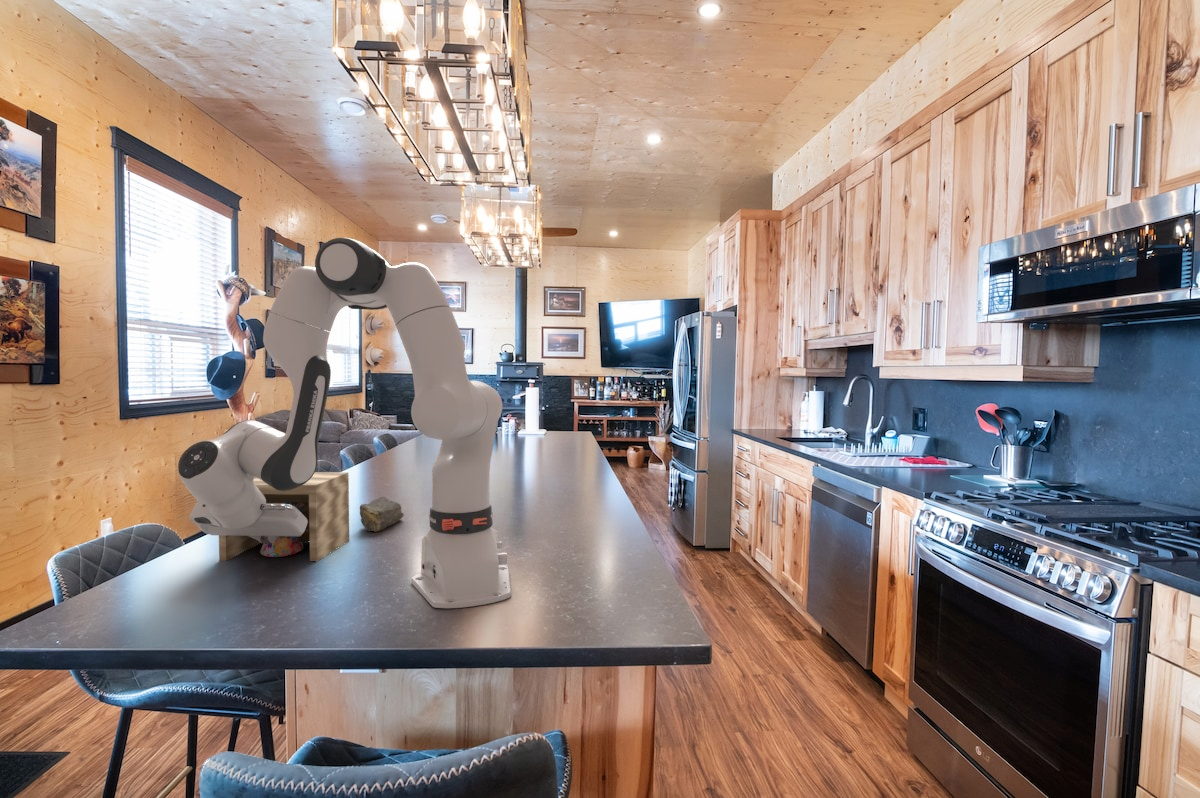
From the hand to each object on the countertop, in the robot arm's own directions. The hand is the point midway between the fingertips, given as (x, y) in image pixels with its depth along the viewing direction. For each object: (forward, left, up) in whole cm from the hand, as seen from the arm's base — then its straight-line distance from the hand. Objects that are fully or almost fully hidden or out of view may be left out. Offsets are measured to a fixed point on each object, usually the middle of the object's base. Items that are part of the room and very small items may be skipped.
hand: (269, 540), depth 124 cm
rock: (+22, -23, -5) cm, 32 cm away
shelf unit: (+6, -3, -4) cm, 8 cm away
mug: (+6, -2, -5) cm, 8 cm away
